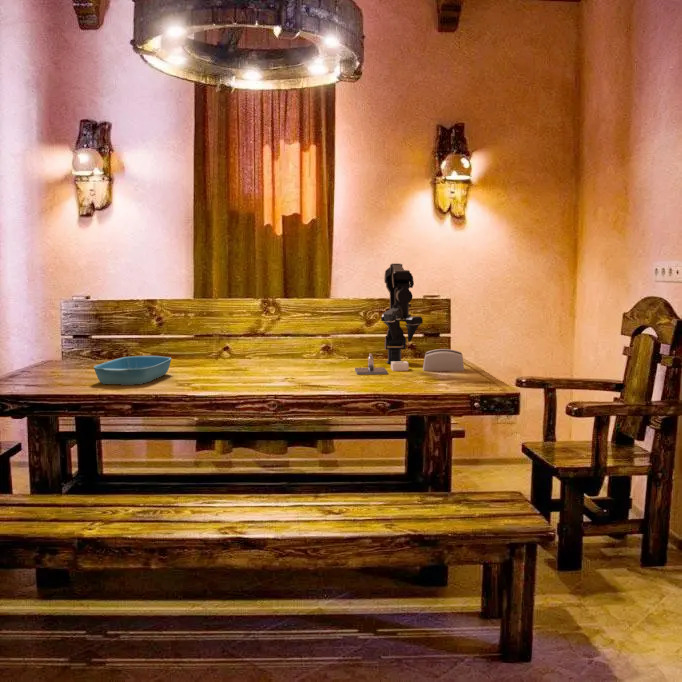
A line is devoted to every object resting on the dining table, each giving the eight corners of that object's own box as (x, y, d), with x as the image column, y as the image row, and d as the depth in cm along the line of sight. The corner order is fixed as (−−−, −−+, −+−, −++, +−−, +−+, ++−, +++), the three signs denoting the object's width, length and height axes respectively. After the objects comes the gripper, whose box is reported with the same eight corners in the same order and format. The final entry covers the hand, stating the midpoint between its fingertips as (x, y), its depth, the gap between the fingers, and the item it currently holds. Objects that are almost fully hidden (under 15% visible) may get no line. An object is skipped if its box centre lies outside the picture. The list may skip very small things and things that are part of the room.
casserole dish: (143, 388, 260) (143, 368, 259) (84, 387, 263) (83, 367, 262) (179, 372, 296) (178, 355, 296) (127, 372, 299) (126, 355, 298)
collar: (390, 368, 302) (390, 361, 302) (406, 368, 303) (406, 361, 302) (392, 370, 296) (392, 363, 296) (408, 370, 296) (408, 363, 296)
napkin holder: (463, 369, 300) (464, 347, 295) (464, 374, 295) (465, 352, 291) (422, 368, 301) (422, 347, 297) (422, 374, 297) (423, 352, 292)
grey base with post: (354, 370, 298) (354, 352, 298) (383, 369, 299) (383, 351, 298) (357, 374, 286) (357, 355, 286) (387, 374, 287) (387, 355, 286)
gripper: (371, 301, 295) (371, 339, 297) (403, 304, 280) (403, 344, 282) (391, 300, 302) (391, 337, 304) (423, 302, 287) (423, 341, 289)
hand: (401, 340), depth 295 cm, fingers open, 9 cm apart
